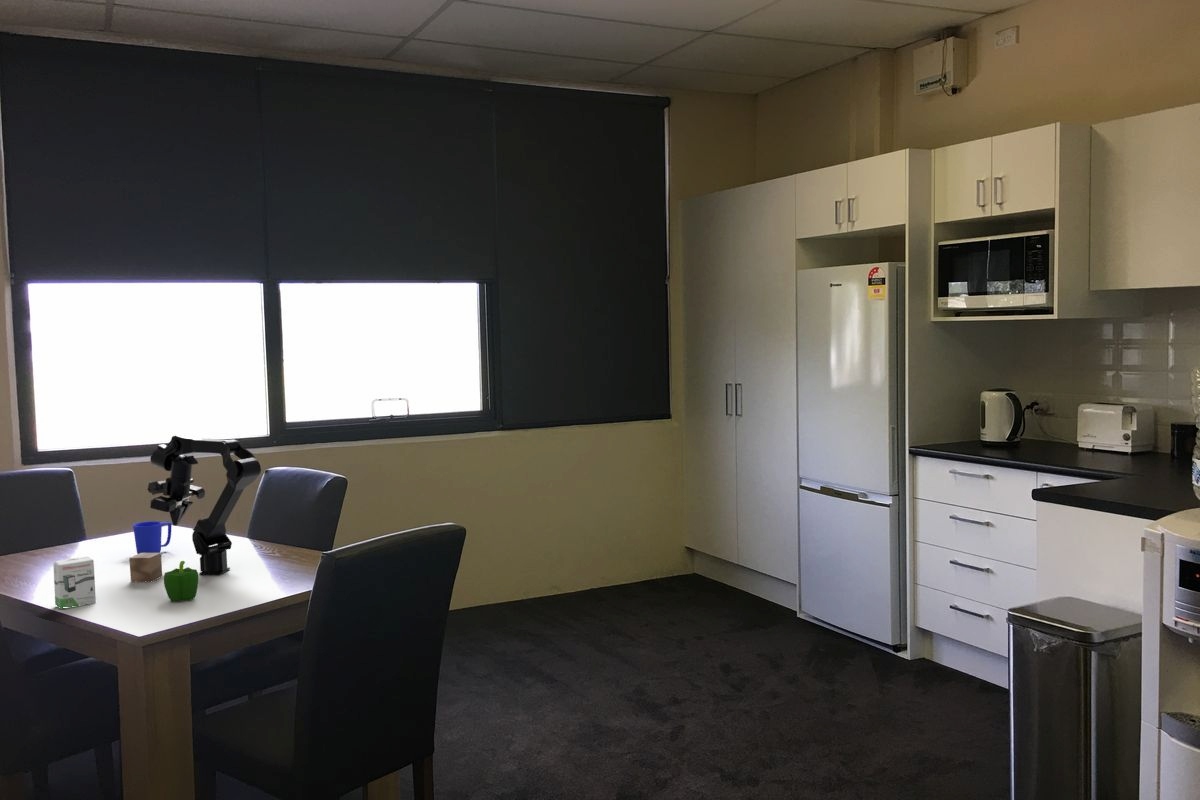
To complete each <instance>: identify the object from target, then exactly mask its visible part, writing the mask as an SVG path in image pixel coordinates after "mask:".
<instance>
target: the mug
mask: <svg viewBox="0 0 1200 800" xmlns="http://www.w3.org/2000/svg"><path fill="white" fill-rule="evenodd" d="M166 525H167V538H166V541H165V543H164V544H162V532H163V530H162V528H163V526H166ZM132 526H133V535H134V541H135V543H134V544H135V548H136V553H137V554H140V553H162V548H166V547H167V546H168V545H170V542H171V537H172V526H173V524H172V521H171V522H170V521H168V522H167V521H165V522H162V521H157V520H155V521H154V520H153V521H152V520H151V521H142V522H138V523H135V524H132ZM137 554H136V555H137Z"/></svg>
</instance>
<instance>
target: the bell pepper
mask: <svg viewBox="0 0 1200 800" xmlns="http://www.w3.org/2000/svg"><path fill="white" fill-rule="evenodd" d="M185 563H186V562H185V561H184V560H181V561H180V562H179V567H178V568H174V569H172V570H169V571H167V572H165V573H164V575H163V585H164V589H165V592H166V595H167V598H168V599H169V600H170V602H172V603H181V602H183V601H184V602H187V601H188V602H189V601H192V600H194V599H195V597H196V596H197V594H198V593H197V592H198V587H199V572H198V570H197V569H193V568H190V567H189V566H188V567H185V568H184V565H185Z"/></svg>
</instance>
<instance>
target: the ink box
mask: <svg viewBox="0 0 1200 800" xmlns="http://www.w3.org/2000/svg"><path fill="white" fill-rule="evenodd" d="M94 562H95V561H94V559H92V558H91V557H90V556H81V557H80V556H79V557H75V558H67V559H61V560H56V561H53V584H54V586H53V587H54V604H55V605H57V606H58V607H60V608H63V607H72V606H77V607H80V606H79V605H82V606H86V605H85V604H88V605H92V604H91V603H93V604H96V603H97V602H96V600H97V599H96V598H97V597H96V581H95V563H94ZM55 605H54V606H55ZM58 607H57V608H58ZM60 608H59V609H60ZM72 608H73V607H72Z"/></svg>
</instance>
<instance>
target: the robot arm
mask: <svg viewBox="0 0 1200 800" xmlns="http://www.w3.org/2000/svg"><path fill="white" fill-rule="evenodd" d="M193 453H204V454H208V453H209V454H220V455H221V457H222V466H223V467H224V469H225V471H226V474H225V476H226V481H227V482H226V484H225V486H224V488H223V490H222V491H221V493H220V495H219V498H218V499H217V501H216V503H215V505H214V507H213V509H211V512H210V514H209V516H208V517H204V518H200V519H198V520H197V521H196V524H195V526H194V528H192V531H193V532H192V535H191V537H192V538H191V539H192V543H193V546H194V549H195V553H196V554H197V555H199V569H200V572H198V575H203V576H204V575H208V576H209V575H210V576H211V575H217V576H218V575H222V574H224V573H225V572H228V571H229V570H231V567H228V558H227V557H228V556H227V550H231V549H232V545H233V543H232V541H231V539H230V538H229V537H228V536H227V534H226V533H227V527H226V522H227V521H228V519H229V517H230V516H231V514H232V512H233V510H234V508H235V507H236V504H237V503H238V501H239V499H240V497H241V495H242V494H243V492H244V491H245V489H246V488H247V487H248V486H249V485H251V484H252V483H253V482H255V480H256V479H257V478H258V477H259V475H260V474H261V471H262V468H261V464H260V462H259V461H258V459H257V457H256V456H255V455H254V453H253V452H251V450H248V449H247V448H245V447H244V446H243V445H242V444H241V443H240V442H239V440H237V439H233V438H232V439H222V438H221V439H219V438H218V439H216V438H204V437H201V435H198V434H195V433H185V434H179V435H178V434H177V435H172V437H171V438H170V440H169V442H168V443H167V445H166V444H164V443H163V444H158V445H157V449H154V451H153V452H152V454H151V456H150V463H151V464H152V466H154V467H157V468H160V469H162V470H163V471H167V472H170V474H169V477H168V478H166V479H165V480H160V481H157V480H155V481H150V482H148V485H147V491H148V493H149V494H151V496H154V495H158V494H162V495H160V496H157V497H154V498H153V499H151V500H150V503H149V508H150V509H153V510H155V511H161V512H164V513H169V516H170V519H171V524H172V526H176V527H177V526H178V525H179V524H180V523H181V521H182V519H183V517H184V516H185V514H186V513H188V510H190V507H191V506H192V505H193V504H194V502H193V501H190V498H191V497H193V496H196V498H197V499H198V500H200V499H204V498H205V495H206V491H205V489H204V488H203V487H201V486H197V485H193V484H192V483H194V482H195V479H194V478H192V473H193V472H192V471H193V465H199V461H198V459H196V458H195V456H194V455H187V454H193ZM232 454H234V456H235V457H237V458H238V459H236V460H233V458H232V457H231V455H232ZM165 496H166V497H165ZM167 496H168V497H167Z"/></svg>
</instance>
